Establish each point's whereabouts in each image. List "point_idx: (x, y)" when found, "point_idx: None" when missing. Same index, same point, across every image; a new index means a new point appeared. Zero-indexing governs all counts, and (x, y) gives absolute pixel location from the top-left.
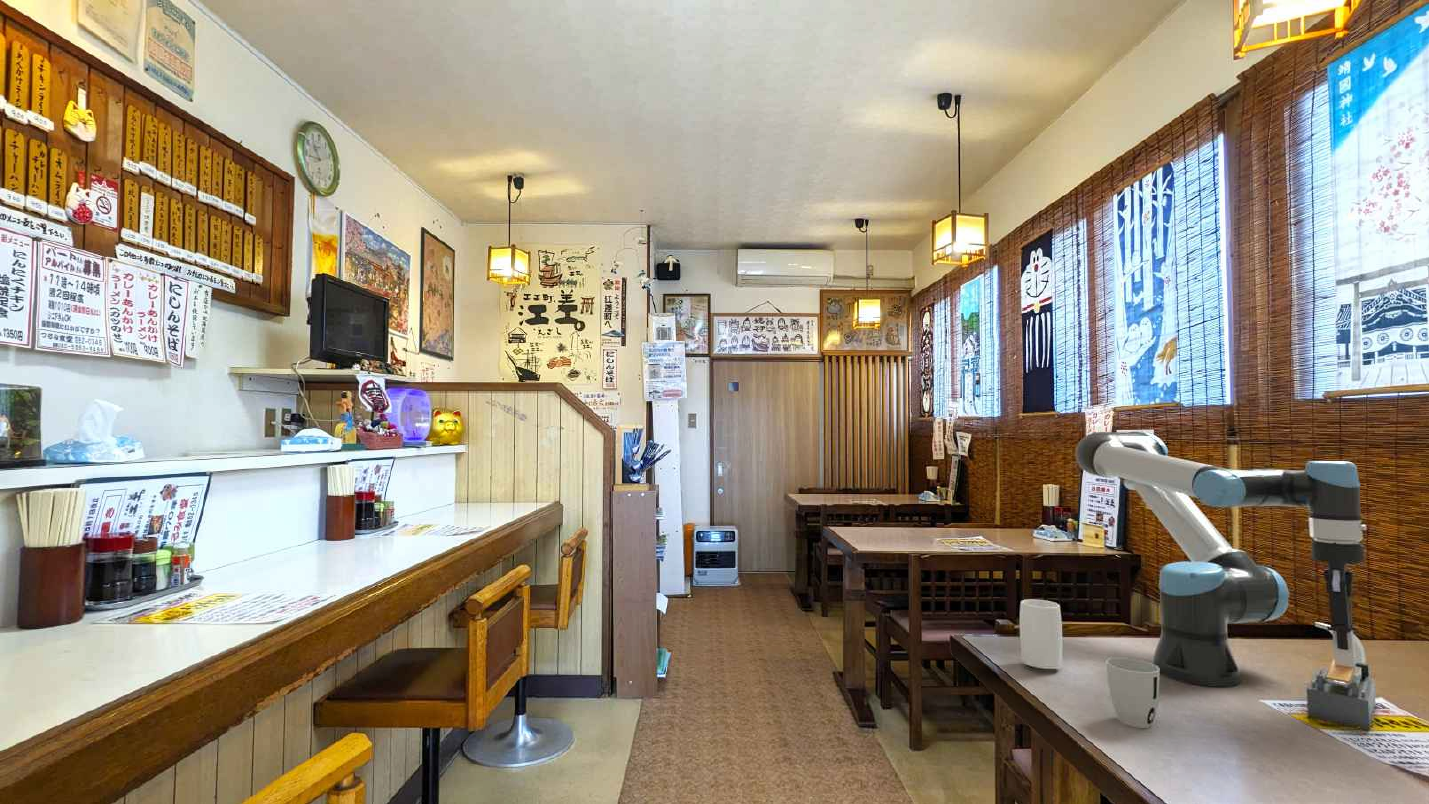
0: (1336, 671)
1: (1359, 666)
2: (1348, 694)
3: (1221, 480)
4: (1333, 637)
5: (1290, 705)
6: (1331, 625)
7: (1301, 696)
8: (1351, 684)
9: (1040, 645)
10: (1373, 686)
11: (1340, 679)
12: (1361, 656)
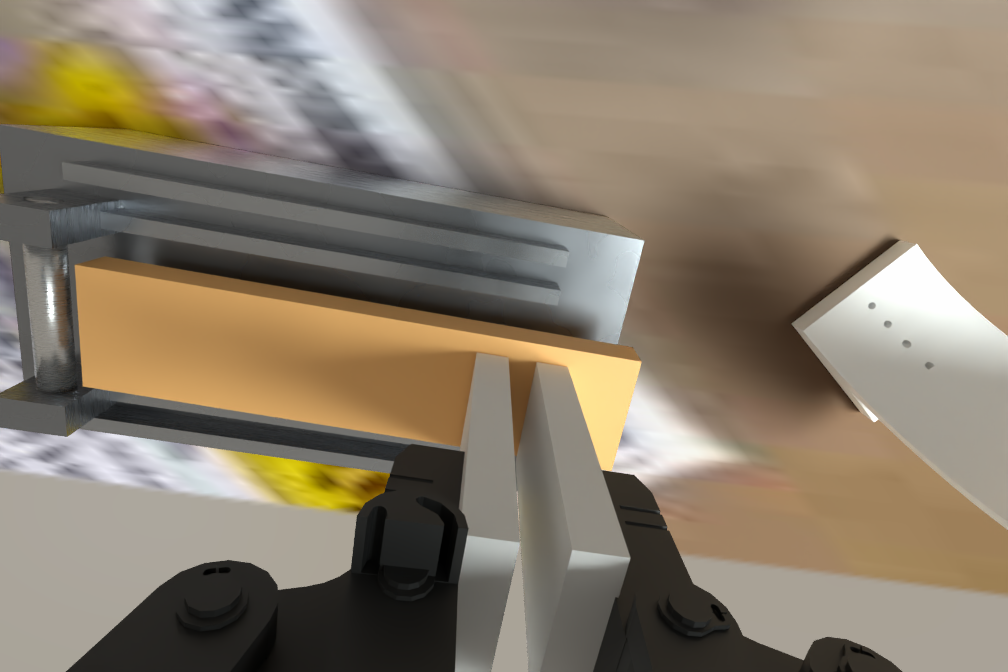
0: (290, 342)
1: None
2: None
3: None
4: (465, 478)
5: (270, 56)
6: (138, 607)
7: (503, 128)
8: (5, 390)
9: None
10: None
11: (81, 342)
12: (998, 514)
